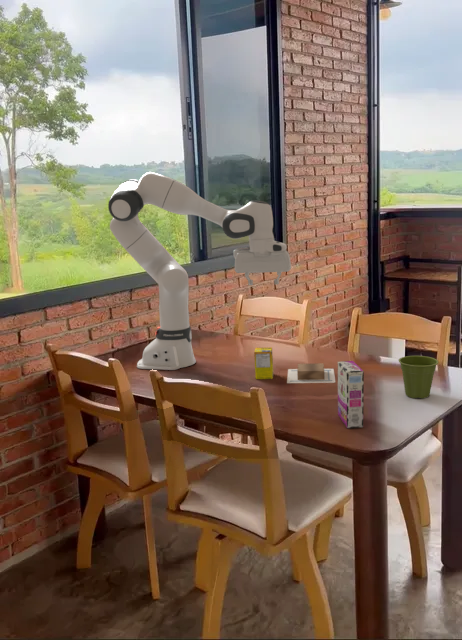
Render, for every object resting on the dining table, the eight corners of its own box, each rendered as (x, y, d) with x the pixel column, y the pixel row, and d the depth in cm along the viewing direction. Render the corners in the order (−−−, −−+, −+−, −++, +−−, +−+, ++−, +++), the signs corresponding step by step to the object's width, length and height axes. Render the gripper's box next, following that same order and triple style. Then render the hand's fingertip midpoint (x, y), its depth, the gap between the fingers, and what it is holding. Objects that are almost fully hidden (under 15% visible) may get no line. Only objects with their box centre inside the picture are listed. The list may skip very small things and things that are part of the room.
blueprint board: (287, 386, 222) (286, 382, 221) (288, 372, 237) (288, 368, 237) (335, 386, 220) (335, 382, 220) (333, 371, 235) (333, 368, 235)
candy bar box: (364, 427, 183) (364, 370, 180) (347, 429, 183) (346, 372, 179) (354, 413, 194) (353, 359, 191) (337, 415, 194) (336, 360, 190)
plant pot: (431, 403, 199) (432, 367, 197) (393, 398, 205) (393, 363, 203) (442, 392, 209) (442, 357, 207) (405, 387, 215) (405, 353, 213)
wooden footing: (297, 379, 224) (297, 371, 224) (298, 371, 233) (297, 363, 233) (324, 379, 223) (324, 370, 223) (323, 371, 232) (323, 363, 232)
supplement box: (273, 376, 233) (272, 346, 231) (272, 382, 227) (271, 351, 225) (256, 377, 234) (255, 347, 231) (255, 382, 228) (254, 351, 226)
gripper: (231, 248, 236) (233, 286, 239) (289, 246, 233) (290, 285, 236) (234, 246, 243) (236, 283, 245) (290, 244, 239) (292, 282, 242)
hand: (263, 284), depth 241 cm, fingers open, 8 cm apart
